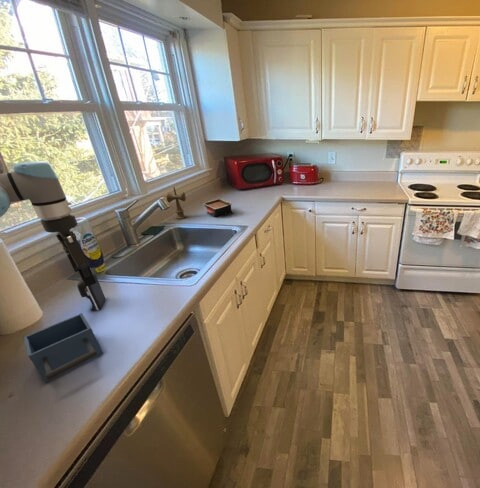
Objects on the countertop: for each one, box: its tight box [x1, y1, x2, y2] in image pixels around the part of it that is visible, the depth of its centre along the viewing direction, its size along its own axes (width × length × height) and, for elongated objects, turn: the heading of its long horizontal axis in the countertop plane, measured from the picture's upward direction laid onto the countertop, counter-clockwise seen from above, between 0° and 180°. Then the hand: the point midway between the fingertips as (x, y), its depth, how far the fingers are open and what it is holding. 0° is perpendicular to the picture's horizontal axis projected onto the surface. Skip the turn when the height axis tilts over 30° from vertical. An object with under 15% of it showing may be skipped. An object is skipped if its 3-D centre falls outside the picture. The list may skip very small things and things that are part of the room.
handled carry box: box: [22, 313, 104, 384], centre depth 72 cm, size 18×12×9 cm, turn 50°
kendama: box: [165, 186, 187, 220], centre depth 170 cm, size 6×10×20 cm, turn 100°
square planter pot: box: [202, 198, 233, 218], centre depth 180 cm, size 14×18×10 cm
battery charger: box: [76, 273, 106, 312], centre depth 94 cm, size 7×4×11 cm, turn 23°
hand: (85, 277), depth 91 cm, fingers open, 13 cm apart
